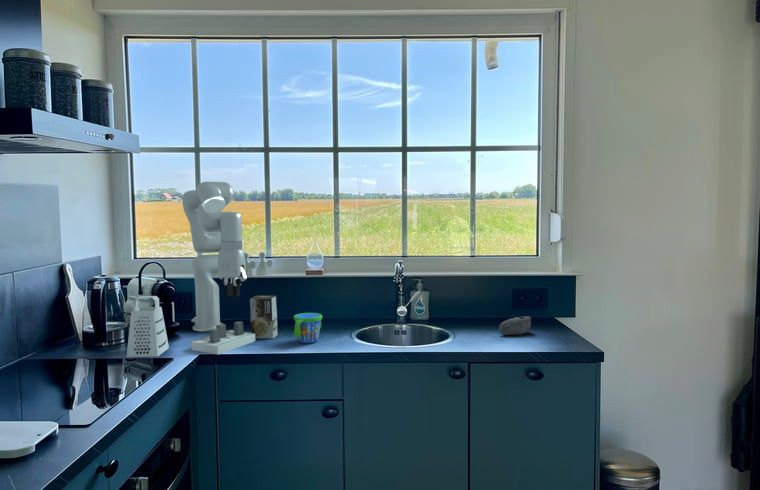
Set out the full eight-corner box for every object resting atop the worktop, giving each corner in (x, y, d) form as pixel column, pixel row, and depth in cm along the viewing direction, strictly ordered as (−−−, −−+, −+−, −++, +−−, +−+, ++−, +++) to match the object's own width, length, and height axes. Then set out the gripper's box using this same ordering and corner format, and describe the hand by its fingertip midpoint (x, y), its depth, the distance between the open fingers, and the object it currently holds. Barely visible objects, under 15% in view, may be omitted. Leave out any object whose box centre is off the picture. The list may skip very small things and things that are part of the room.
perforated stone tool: (502, 337, 187) (502, 320, 186) (495, 334, 192) (495, 317, 192) (535, 334, 191) (535, 317, 191) (528, 331, 196) (528, 314, 196)
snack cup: (310, 335, 193) (310, 310, 192) (331, 338, 187) (331, 312, 187) (284, 344, 179) (283, 317, 179) (306, 348, 174) (305, 320, 173)
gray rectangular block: (232, 334, 182) (232, 322, 182) (238, 332, 185) (238, 321, 185) (238, 335, 181) (238, 323, 180) (244, 333, 184) (244, 321, 183)
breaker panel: (191, 349, 173) (191, 341, 173) (230, 337, 190) (230, 329, 190) (217, 354, 167) (217, 345, 167) (255, 341, 184) (255, 333, 184)
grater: (157, 356, 165) (155, 299, 164) (126, 357, 165) (123, 300, 163) (169, 347, 176) (167, 294, 174) (139, 348, 175) (137, 294, 174)
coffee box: (278, 334, 193) (277, 295, 192) (273, 339, 187) (272, 298, 186) (256, 334, 194) (255, 295, 193) (250, 338, 188) (249, 298, 187)
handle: (208, 342, 171) (208, 329, 171) (215, 339, 174) (214, 327, 174) (214, 343, 170) (214, 330, 170) (221, 340, 173) (220, 328, 173)
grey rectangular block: (215, 337, 178) (214, 325, 178) (221, 335, 181) (221, 323, 181) (220, 338, 177) (220, 326, 176) (227, 336, 180) (227, 324, 179)
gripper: (207, 246, 174) (209, 296, 175) (240, 247, 166) (242, 299, 168) (223, 244, 180) (224, 293, 182) (255, 246, 173) (257, 296, 174)
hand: (233, 295), depth 175 cm, fingers open, 2 cm apart
